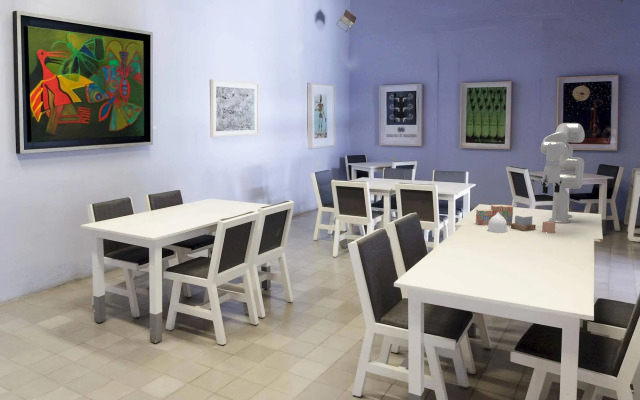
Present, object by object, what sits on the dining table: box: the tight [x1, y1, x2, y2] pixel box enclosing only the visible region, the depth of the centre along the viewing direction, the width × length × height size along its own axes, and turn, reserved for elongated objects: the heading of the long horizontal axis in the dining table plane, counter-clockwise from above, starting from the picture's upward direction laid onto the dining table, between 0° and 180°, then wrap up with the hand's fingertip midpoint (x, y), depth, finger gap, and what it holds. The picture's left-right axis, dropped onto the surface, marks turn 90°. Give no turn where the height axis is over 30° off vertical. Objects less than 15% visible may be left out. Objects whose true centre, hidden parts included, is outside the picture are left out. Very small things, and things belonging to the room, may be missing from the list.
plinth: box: [510, 222, 537, 232], centre depth 335 cm, size 10×10×3 cm
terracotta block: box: [541, 220, 557, 234], centre depth 326 cm, size 5×5×6 cm
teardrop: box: [487, 212, 508, 234], centre depth 329 cm, size 11×11×12 cm
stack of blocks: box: [475, 204, 514, 227], centre depth 349 cm, size 21×6×12 cm, turn 85°
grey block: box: [514, 214, 533, 226], centre depth 334 cm, size 7×7×5 cm
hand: (550, 192), depth 323 cm, fingers open, 9 cm apart
